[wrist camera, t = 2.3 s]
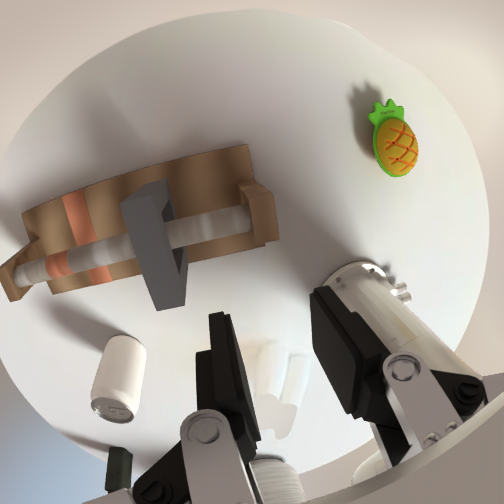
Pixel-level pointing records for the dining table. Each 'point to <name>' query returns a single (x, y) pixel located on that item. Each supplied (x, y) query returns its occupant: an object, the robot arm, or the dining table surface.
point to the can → (119, 380)
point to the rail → (115, 231)
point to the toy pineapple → (393, 139)
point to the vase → (277, 482)
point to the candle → (118, 469)
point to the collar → (156, 243)
